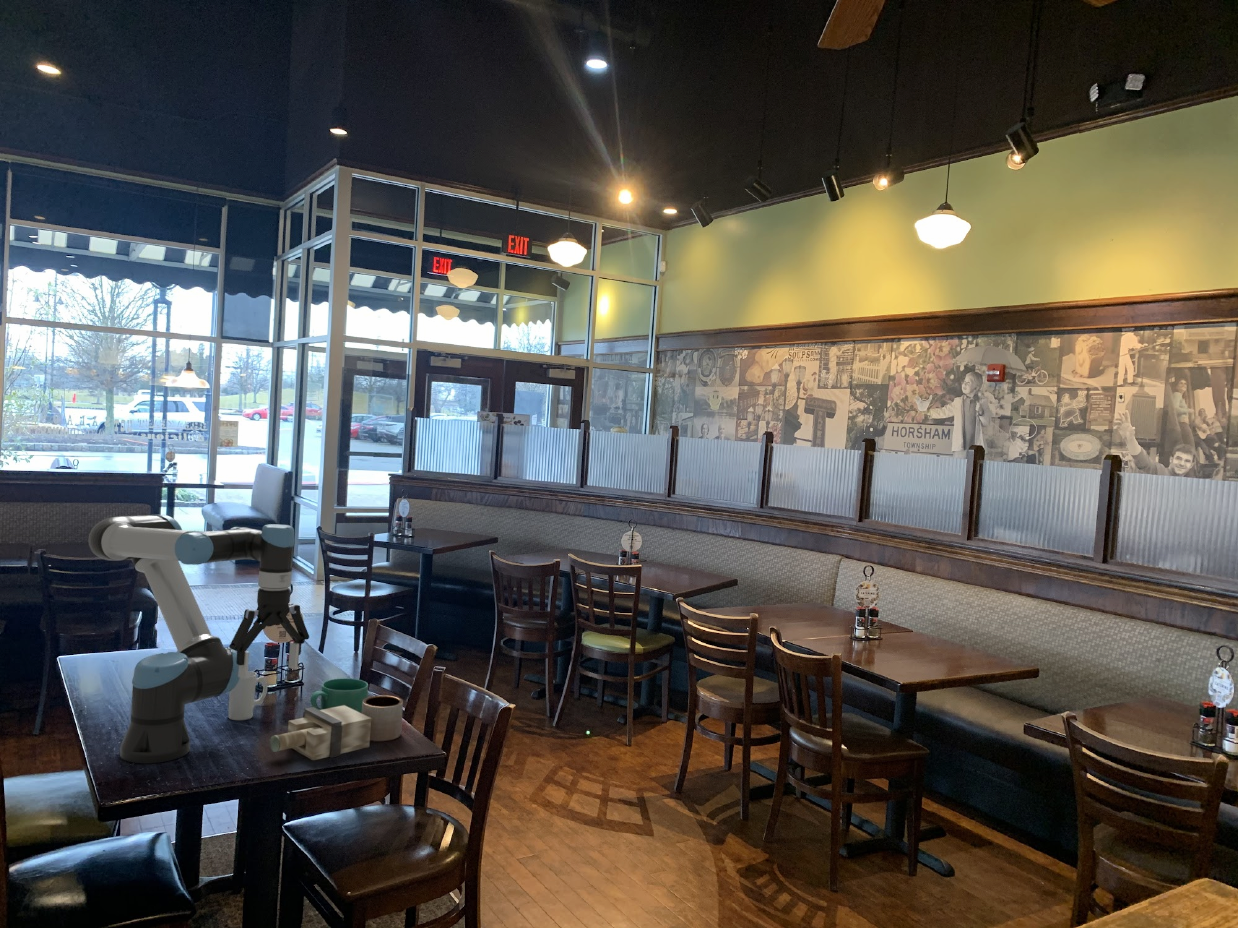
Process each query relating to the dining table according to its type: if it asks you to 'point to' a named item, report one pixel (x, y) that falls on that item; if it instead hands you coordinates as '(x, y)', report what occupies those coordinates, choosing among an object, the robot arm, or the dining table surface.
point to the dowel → (289, 739)
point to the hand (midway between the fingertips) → (268, 673)
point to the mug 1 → (245, 697)
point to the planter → (383, 717)
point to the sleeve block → (332, 731)
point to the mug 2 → (341, 694)
